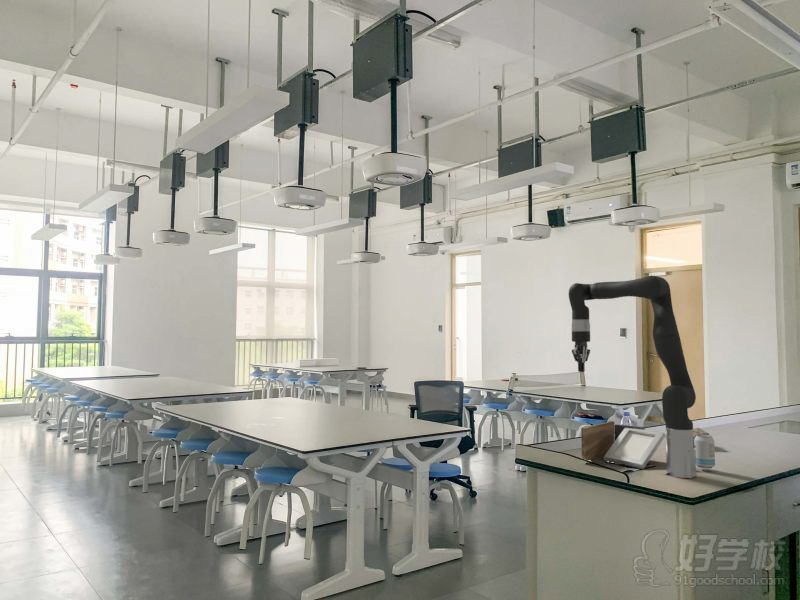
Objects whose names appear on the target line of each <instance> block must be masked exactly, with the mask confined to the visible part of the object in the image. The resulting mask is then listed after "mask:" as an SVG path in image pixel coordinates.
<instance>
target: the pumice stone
mask: <svg viewBox="0 0 800 600" xmlns="http://www.w3.org/2000/svg"><path fill="white" fill-rule="evenodd" d="M697 434H705V435H710V432H706V431H705V430H704V429H701V428H700V427H693V446H694V439H695V437H696V435H697Z"/></svg>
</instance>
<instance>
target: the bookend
mask: <svg viewBox="0 0 800 600" xmlns="http://www.w3.org/2000/svg"><path fill="white" fill-rule="evenodd" d="M624 428H633V429H643V430H644V429H646V427H644V426H639V425H638V426H636V425H628V424H625V425H624V424H615V423H614V436H615V441H616V439H617V438H618V436H619V435H620V434H621V432H622V431H623V430H624Z"/></svg>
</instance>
